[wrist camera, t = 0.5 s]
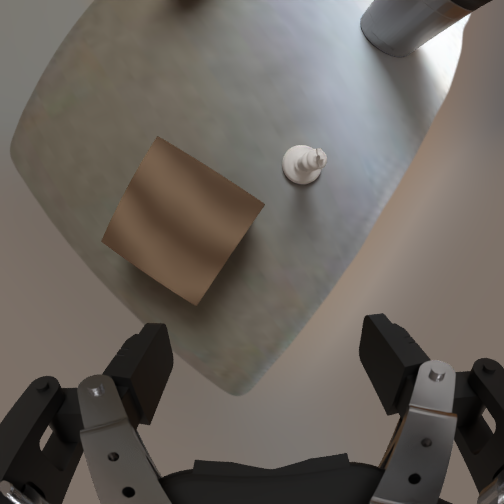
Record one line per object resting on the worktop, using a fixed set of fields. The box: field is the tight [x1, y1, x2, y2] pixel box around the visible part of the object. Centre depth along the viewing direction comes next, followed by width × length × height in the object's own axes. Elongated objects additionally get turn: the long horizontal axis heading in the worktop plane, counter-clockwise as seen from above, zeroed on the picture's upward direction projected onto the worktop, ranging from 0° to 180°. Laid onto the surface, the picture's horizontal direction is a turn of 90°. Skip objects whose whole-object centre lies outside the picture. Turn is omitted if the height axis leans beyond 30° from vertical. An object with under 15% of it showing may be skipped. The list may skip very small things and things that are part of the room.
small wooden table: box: [101, 136, 265, 306], centre depth 30 cm, size 13×13×7 cm
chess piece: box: [282, 145, 327, 184], centre depth 27 cm, size 5×5×10 cm
